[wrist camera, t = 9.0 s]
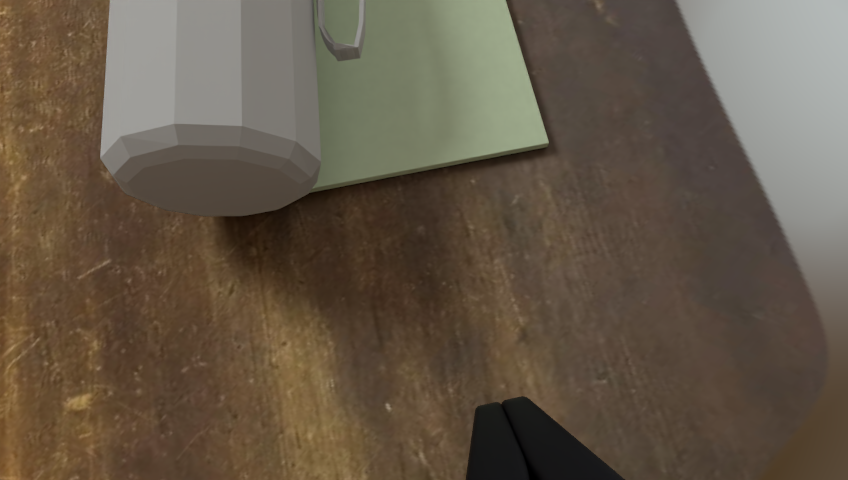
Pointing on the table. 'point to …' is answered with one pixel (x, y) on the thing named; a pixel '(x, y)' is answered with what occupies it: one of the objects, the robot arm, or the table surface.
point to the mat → (421, 89)
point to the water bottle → (215, 102)
